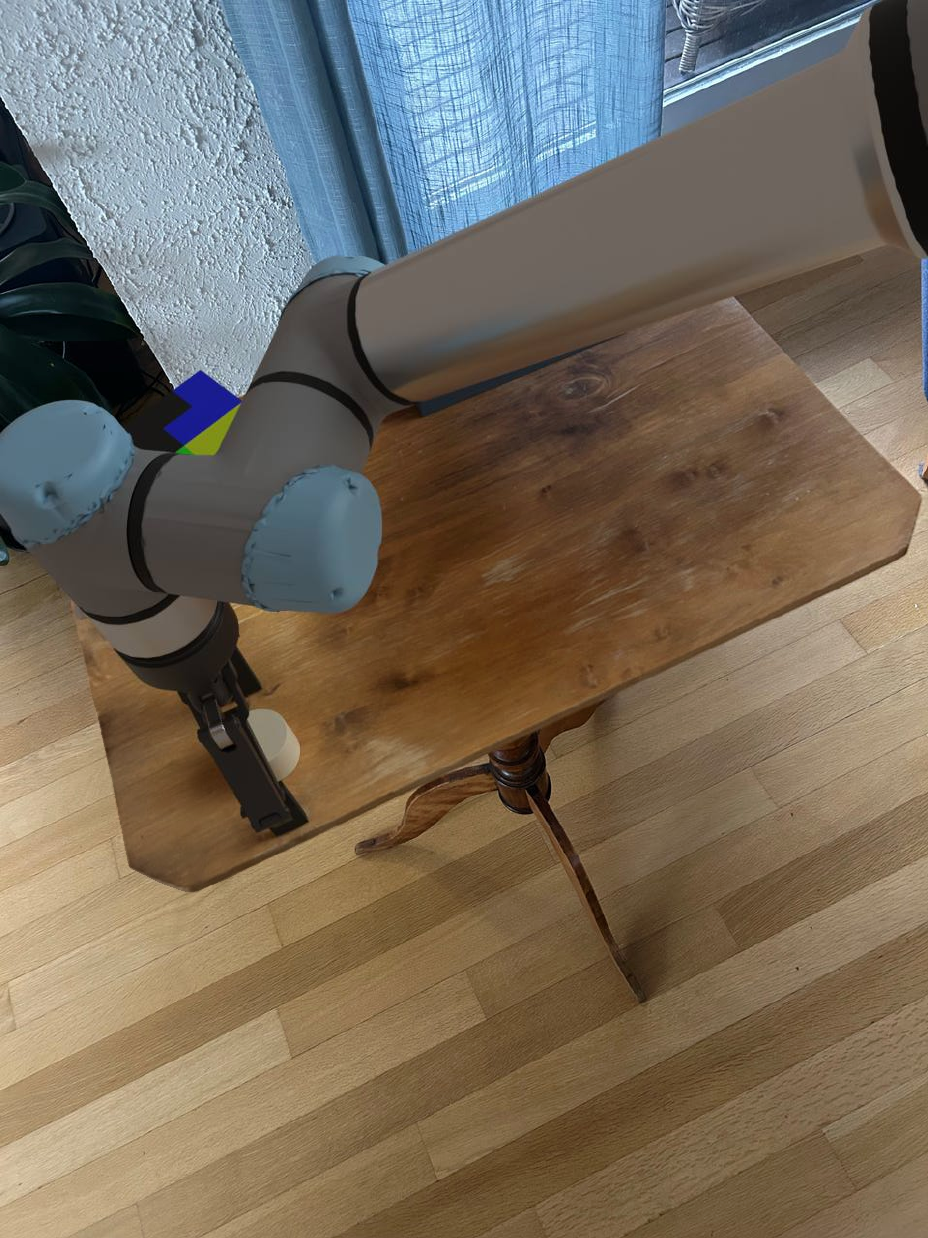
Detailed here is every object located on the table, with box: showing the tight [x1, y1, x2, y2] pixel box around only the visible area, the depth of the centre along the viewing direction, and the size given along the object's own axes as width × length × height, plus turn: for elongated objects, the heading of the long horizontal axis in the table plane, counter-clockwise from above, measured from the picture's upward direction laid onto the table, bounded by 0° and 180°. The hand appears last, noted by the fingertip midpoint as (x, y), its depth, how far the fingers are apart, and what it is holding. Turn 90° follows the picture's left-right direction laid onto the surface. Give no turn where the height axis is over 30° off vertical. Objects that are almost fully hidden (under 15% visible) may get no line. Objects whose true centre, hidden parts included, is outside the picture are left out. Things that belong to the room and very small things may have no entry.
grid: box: [414, 333, 626, 418], centre depth 100 cm, size 8×23×3 cm, turn 113°
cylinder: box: [247, 708, 301, 781], centre depth 79 cm, size 5×5×4 cm
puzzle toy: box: [122, 369, 243, 455], centre depth 92 cm, size 10×10×10 cm
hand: (267, 755), depth 80 cm, fingers open, 12 cm apart
